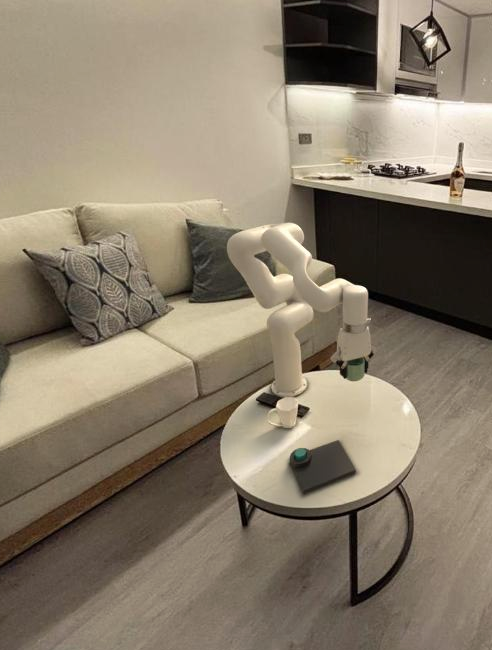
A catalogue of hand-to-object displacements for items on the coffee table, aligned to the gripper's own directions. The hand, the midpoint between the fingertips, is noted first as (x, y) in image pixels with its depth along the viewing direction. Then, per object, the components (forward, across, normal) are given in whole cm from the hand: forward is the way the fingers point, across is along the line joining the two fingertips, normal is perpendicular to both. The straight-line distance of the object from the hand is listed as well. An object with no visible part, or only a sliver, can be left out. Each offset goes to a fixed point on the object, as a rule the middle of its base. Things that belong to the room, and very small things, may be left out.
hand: (354, 373), depth 132 cm
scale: (+16, +17, +17) cm, 29 cm away
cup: (+17, +22, -5) cm, 28 cm away
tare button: (+13, +22, +13) cm, 29 cm away
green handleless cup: (+1, 0, 0) cm, 1 cm away
